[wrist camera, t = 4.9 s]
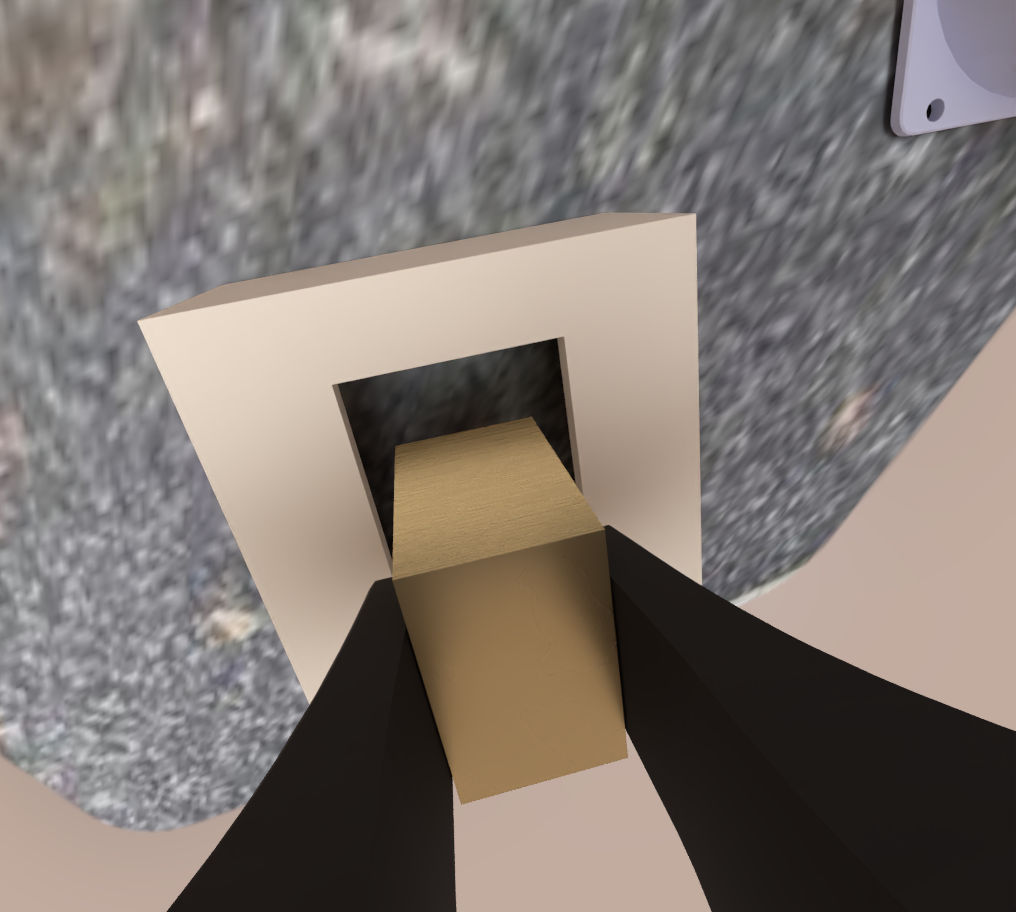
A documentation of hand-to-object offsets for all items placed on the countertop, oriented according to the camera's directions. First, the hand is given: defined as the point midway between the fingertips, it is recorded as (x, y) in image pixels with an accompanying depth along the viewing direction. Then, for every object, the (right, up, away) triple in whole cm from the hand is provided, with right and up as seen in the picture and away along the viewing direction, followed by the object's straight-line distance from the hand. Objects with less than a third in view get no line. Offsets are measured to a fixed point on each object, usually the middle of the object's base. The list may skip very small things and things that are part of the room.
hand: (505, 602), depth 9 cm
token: (0, +1, +2) cm, 2 cm away
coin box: (-1, +3, +8) cm, 8 cm away
